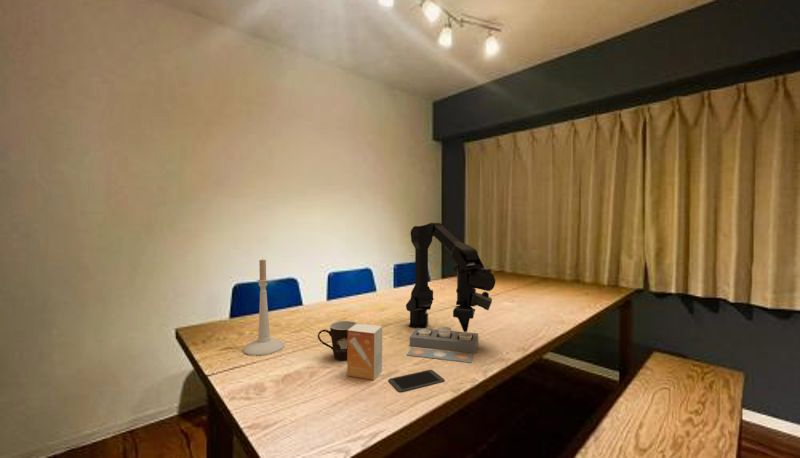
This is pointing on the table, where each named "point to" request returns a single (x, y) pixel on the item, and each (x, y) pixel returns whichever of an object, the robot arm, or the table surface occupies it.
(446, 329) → the middle button
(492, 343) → the table surface
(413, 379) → the cell phone
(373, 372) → the small box
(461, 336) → the right button
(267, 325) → the candlestick
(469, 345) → the button panel
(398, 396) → the table surface
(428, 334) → the left button
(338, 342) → the coffee mug
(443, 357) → the pattern card
